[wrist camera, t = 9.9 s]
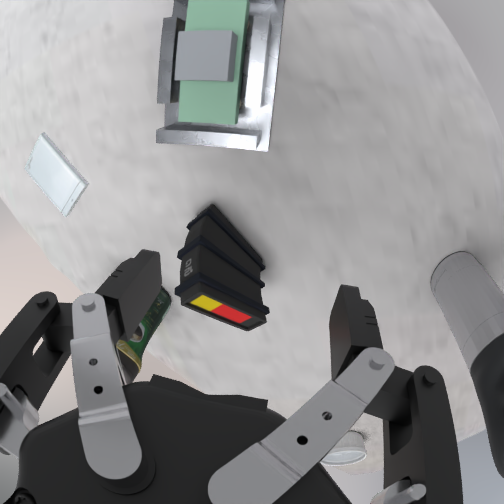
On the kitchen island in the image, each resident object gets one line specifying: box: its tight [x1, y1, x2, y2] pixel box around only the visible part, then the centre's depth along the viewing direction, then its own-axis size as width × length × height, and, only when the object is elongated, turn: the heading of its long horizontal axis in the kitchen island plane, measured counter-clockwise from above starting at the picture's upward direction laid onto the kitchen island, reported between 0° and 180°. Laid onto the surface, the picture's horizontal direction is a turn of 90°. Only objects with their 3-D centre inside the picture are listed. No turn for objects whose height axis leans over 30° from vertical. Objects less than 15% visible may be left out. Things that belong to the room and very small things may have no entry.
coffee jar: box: [116, 289, 171, 384], centre depth 41 cm, size 10×8×19 cm
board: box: [175, 0, 250, 125], centre depth 25 cm, size 14×6×5 cm, turn 175°
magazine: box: [175, 205, 270, 331], centre depth 37 cm, size 4×13×15 cm, turn 39°
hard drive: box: [25, 133, 89, 217], centre depth 40 cm, size 2×8×12 cm
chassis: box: [156, 0, 285, 152], centre depth 28 cm, size 21×13×6 cm, turn 175°
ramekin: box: [320, 431, 367, 466], centre depth 67 cm, size 13×13×7 cm
